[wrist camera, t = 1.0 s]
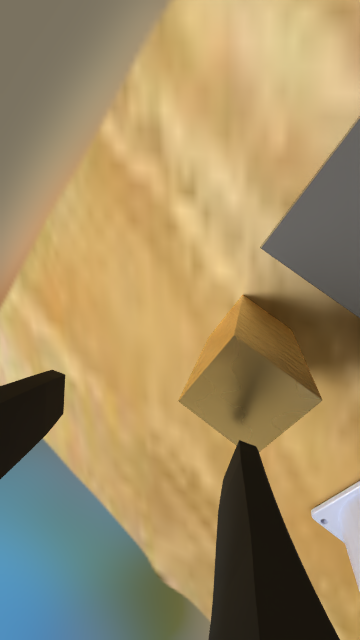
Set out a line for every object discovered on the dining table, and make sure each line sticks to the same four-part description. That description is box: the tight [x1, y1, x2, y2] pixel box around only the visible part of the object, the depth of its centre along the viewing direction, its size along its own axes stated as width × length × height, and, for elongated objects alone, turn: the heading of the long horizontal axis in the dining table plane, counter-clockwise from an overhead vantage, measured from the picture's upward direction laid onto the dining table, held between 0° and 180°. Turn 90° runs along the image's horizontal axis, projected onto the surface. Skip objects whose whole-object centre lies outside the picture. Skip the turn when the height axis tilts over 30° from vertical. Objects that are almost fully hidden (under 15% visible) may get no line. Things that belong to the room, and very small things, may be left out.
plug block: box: [179, 295, 322, 452], centre depth 14 cm, size 4×4×8 cm
